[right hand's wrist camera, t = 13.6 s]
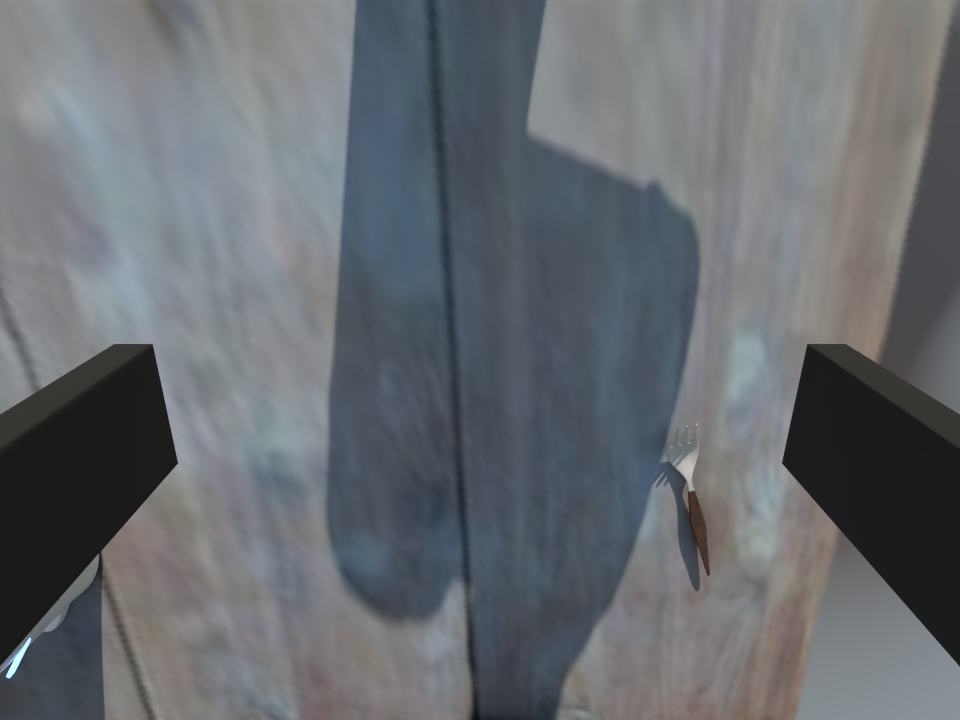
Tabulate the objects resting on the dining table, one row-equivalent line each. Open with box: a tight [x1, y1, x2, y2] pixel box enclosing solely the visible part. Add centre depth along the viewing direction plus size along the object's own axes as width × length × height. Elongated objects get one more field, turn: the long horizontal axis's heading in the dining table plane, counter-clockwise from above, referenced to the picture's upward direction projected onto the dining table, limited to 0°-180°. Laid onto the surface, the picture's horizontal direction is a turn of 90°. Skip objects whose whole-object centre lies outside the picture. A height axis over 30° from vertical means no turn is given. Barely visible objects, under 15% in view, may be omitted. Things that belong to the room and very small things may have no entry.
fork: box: [666, 424, 710, 575], centre depth 50 cm, size 3×16×2 cm, turn 16°
